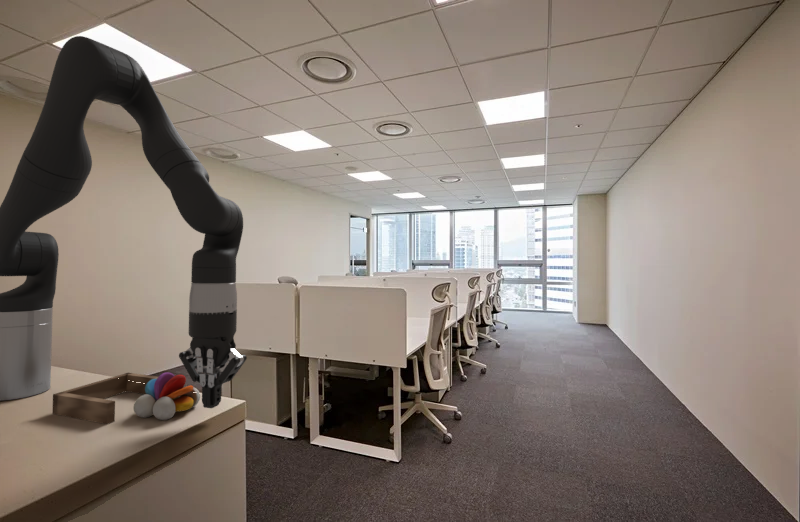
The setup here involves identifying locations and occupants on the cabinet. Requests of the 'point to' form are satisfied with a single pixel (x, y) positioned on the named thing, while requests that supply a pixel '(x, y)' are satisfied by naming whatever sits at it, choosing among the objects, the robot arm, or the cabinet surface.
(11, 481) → the cabinet surface
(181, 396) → the rainbow disc stack
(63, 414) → the bay
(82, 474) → the cabinet surface
